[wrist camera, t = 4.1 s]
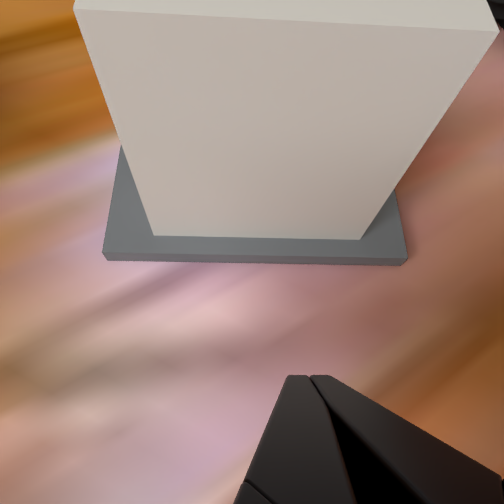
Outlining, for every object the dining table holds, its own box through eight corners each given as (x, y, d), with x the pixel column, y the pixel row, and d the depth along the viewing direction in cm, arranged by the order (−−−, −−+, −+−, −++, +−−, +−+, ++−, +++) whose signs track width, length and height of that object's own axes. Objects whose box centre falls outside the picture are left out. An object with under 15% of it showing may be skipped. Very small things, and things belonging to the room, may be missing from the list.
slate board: (400, 265, 22) (408, 258, 21) (107, 260, 21) (102, 252, 20) (359, 47, 29) (363, 34, 29) (145, 36, 29) (142, 23, 28)
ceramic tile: (359, 239, 21) (499, 31, 10) (153, 235, 20) (72, 8, 10) (352, 192, 22) (471, -36, 12) (159, 187, 22) (93, -60, 11)
